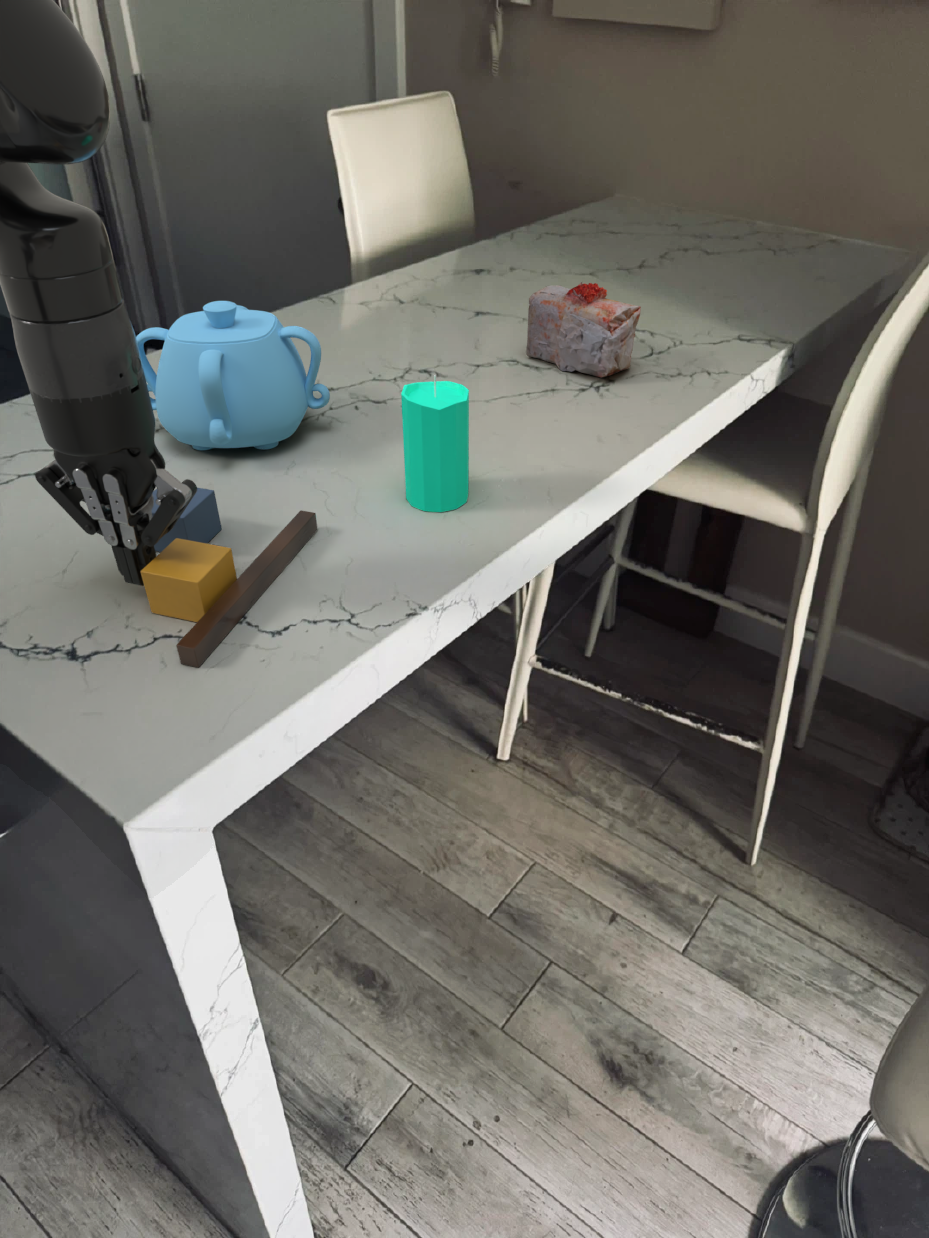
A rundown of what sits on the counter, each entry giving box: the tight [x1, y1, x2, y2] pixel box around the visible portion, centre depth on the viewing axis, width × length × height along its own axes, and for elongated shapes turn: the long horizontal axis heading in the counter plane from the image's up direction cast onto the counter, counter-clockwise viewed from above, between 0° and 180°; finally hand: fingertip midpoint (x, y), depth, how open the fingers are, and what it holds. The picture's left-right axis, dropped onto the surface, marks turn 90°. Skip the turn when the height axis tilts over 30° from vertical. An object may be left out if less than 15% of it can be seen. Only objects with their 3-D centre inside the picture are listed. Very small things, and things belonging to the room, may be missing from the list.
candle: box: [400, 374, 470, 513], centre depth 79 cm, size 6×6×12 cm
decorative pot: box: [136, 300, 331, 451], centre depth 90 cm, size 16×16×14 cm
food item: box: [525, 281, 642, 379], centre depth 107 cm, size 14×8×10 cm, turn 50°
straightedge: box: [176, 509, 318, 669], centre depth 70 cm, size 20×2×2 cm, turn 162°
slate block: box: [152, 487, 223, 553], centre depth 76 cm, size 5×5×4 cm
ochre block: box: [141, 538, 238, 623], centre depth 69 cm, size 5×5×4 cm
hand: (142, 579), depth 70 cm, fingers closed
